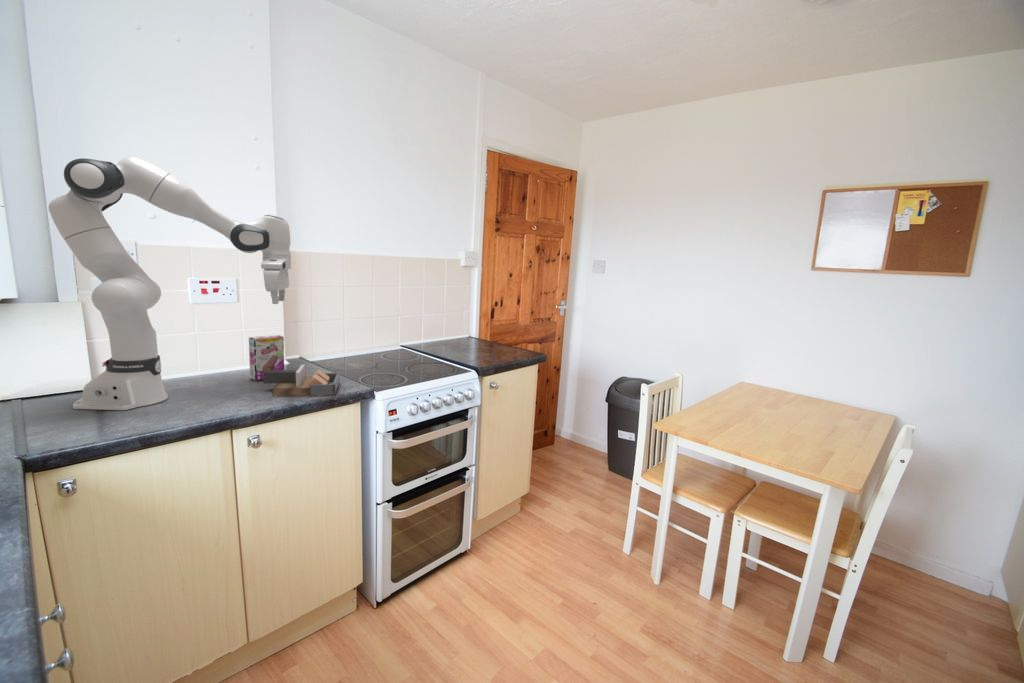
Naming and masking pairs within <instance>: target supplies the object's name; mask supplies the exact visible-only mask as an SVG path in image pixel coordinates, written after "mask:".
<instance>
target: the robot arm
mask: <svg viewBox="0 0 1024 683" xmlns="http://www.w3.org/2000/svg"><path fill="white" fill-rule="evenodd" d="M63 178H64V181H65V183H66V185H67V187H69V191H68V193H66V194H64V195H60V196H57V197H55V198H54V199H53V198H52V200H51V201H50V202H49V203H48V211H49V213H50V218H51V219H52V221H53V223H54V225H55V226H56V228H57V230H58V233H59V234H60V236H61V237H62V239H63V240H64V242H65V243H66V244H67V246H68V247H69V249H70V251H71V252H72V254H73V255H74V256H75V258H76V259H77V260H78V262H79V264H80V265H81V266H82V267H83V268H84V269H86V270H88V271H89V273H91V274H93V276H95V278H97V279H98V280H99V281H100V282H101V283H100V284H99V285H97V286H96V287H95V288H94V289H93V291H92V293H91V302H92V304H93V306H94V307H95V308H96V309H97V310H98V312H100V315H101V317H102V320H103V322H104V324H105V327H106V330H107V332H108V337H109V344H110V346H109V347H110V351H111V352H110V354H111V357H110V358H109V359H107V360H105V361H104V362H101V364H102V365H101V367H105V370H104V371H103V372H102V373H100V374H99V375H97V376H95V377H94V378H93V379H91V380H90V381H89V382H88V383H86V384H85V385H84V386H83V389H82V396H81V398H79V399H77V400H76V401H74V402H73V404H72V409H73V410H96V411H97V410H103V411H104V410H105V411H126V410H127V411H128V410H132V409H135V408H139V407H145V406H149V405H150V406H151V405H153V404H159V403H161V402H164V401H166V400H167V399H168V398H169V395H168V393H167V391H166V388H165V386H164V382H163V379H162V378H163V377H162V374H161V373H162V362H161V355H159V352H158V350H159V349H158V342H157V341H158V340H157V332H156V329H155V328H154V327H153V324H152V323H151V320H150V317H149V314H148V310H149V309H152V308H153V307H154V306H155V305H156V304H157V303H159V300H160V298H161V296H162V290H161V287H160V286H159V285H158V283H157V282H156V281H154V280H153V279H152V278H151V277H150V276H149V275H148V274H147V273H146V272H145V270H143V269H142V267H141V266H140V265H139V264H138V263H137V262H136V261H135V260H134V258H132V256H131V255H130V254H129V252H128V251H127V250H126V249H125V247H124V246H123V244H122V242H121V241H120V239H119V238H118V237H117V235H116V233H115V232H114V230H113V229H112V227H111V225H110V224H109V223H108V222H107V220H106V218H105V216H104V213H103V212H104V211H105V210H107V209H108V208H111V207H112V206H114V205H115V204H117V203H118V202H120V200H121V199H122V197H123V195H124V194H129V195H130V194H131V195H134V196H136V197H139V198H141V199H142V200H144V201H145V202H147V203H149V204H151V205H153V206H155V207H157V208H159V209H161V210H163V211H166V212H168V213H171V214H174V215H176V216H180V217H184V218H186V219H187V218H188V219H190V220H194V221H197V222H198V223H201V224H204V225H205V226H207V227H209V228H210V229H212V230H214V231H216V232H218V233H219V234H221V235H223V236H224V237H226V238H227V239H228V240H229V241H230V242H231V244H232V245H233V247H235V248H236V249H237V250H238V251H240V252H243V253H246V254H253V253H256V252H258V251H261V252H262V261H261V263H260V266H261V269H262V270H263V281H264V282H263V283H264V288H265V291H266V292H270V297H271V303H272V305H278V304H279V302H284V301H285V294H286V289H288V288H289V287H290V286H289V285H290V280H289V277H290V276H289V270H290V269H292V254H291V253H292V252H291V251H290V246H291V230H290V226H289V223H288V222H287V220H285V219H284V218H283V217H280V216H279V217H278V216H276V215H275V216H274V215H270V214H264V215H263V216H261V217H258V218H257V219H254V220H251V221H247V222H243V223H242V222H239V221H237V220H234V219H232V218H231V217H229V216H227V214H224V213H223V212H221V211H219V210H217V209H215V208H214V207H212V206H211V205H210V204H208V203H207V202H206V201H205V200H204V199H203V198H201V196H200V195H199V194H198V193H197V192H196V191H195V190H194V189H193V188H192V187H191V186H190V185H188V184H187V183H185V182H184V181H182V180H181V179H180V178H179V177H177V176H175V175H174V174H172V173H171V172H169V171H167V170H166V169H163V168H161V167H160V166H158V165H156V164H153V163H152V162H149V161H146V159H142V158H140V157H137V156H132V155H131V156H126V157H124V158H122V159H121V160H119V161H118V162H117V163H116V164H115V163H113V162H111V161H105V160H97V159H92V158H76V159H74V160H73V159H72V160H71V161H69V162H68V163H66V165H65V167H64V169H63Z"/></svg>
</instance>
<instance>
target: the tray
mask: <svg viewBox="0 0 1024 683" xmlns="http://www.w3.org/2000/svg"><path fill="white" fill-rule="evenodd" d="M324 373H325V374H326V375H328V376H329V377H330V378H329V381H328V383H327V384H312V385H310V387H311V396H310V397H319V396H318V395H335V394H336V395H337V392H336V391H338V389H337V388H339V386H340V382H341V380H340V372H324ZM338 385H339V386H338ZM336 395H335V396H336Z"/></svg>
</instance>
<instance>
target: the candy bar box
mask: <svg viewBox="0 0 1024 683" xmlns="http://www.w3.org/2000/svg"><path fill="white" fill-rule="evenodd" d="M284 338H285V337H284V336H283V335H279V334H272V335H270V334H269V335H260V336H259V335H258V336H250V337H248V353H249V354H248V355H249V378H251V379H250V380H252V379H253V380H252V381H254V380H255V381H254V382H258V381H257V380H259V381H263V380H262V379H264V372H265V371H266V370H285V352H284V351H285V349H284V348H285V343H284V340H285V339H284Z"/></svg>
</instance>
